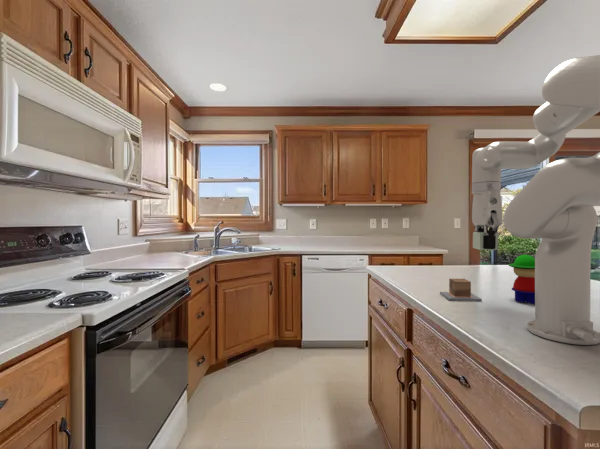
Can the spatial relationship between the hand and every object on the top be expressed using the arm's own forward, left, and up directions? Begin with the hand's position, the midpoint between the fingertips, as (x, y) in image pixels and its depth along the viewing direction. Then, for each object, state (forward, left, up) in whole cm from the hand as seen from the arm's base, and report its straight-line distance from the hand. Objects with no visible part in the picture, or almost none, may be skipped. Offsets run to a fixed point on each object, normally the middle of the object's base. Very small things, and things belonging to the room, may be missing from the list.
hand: (484, 247), depth 92 cm
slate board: (+8, +4, -18) cm, 20 cm away
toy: (+5, -15, -18) cm, 24 cm away
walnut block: (+8, +4, -17) cm, 19 cm away
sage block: (0, 0, -1) cm, 1 cm away
